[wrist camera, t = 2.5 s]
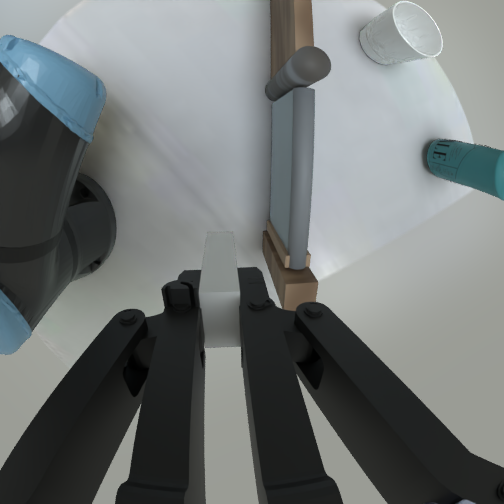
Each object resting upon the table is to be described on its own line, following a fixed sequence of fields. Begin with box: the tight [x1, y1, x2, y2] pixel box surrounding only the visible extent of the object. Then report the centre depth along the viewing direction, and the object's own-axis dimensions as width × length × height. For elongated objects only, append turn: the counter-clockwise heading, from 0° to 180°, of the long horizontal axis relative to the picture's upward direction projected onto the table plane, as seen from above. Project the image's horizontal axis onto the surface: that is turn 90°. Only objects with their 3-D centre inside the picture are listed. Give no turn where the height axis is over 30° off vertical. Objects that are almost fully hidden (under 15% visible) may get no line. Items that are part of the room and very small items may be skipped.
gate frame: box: [263, 0, 331, 311], centre depth 24 cm, size 3×38×14 cm, turn 179°
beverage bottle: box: [427, 138, 504, 200], centre depth 25 cm, size 6×7×20 cm
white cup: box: [359, 1, 443, 65], centre depth 22 cm, size 8×8×10 cm
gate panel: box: [267, 87, 315, 270], centre depth 27 cm, size 16×2×12 cm, turn 0°
